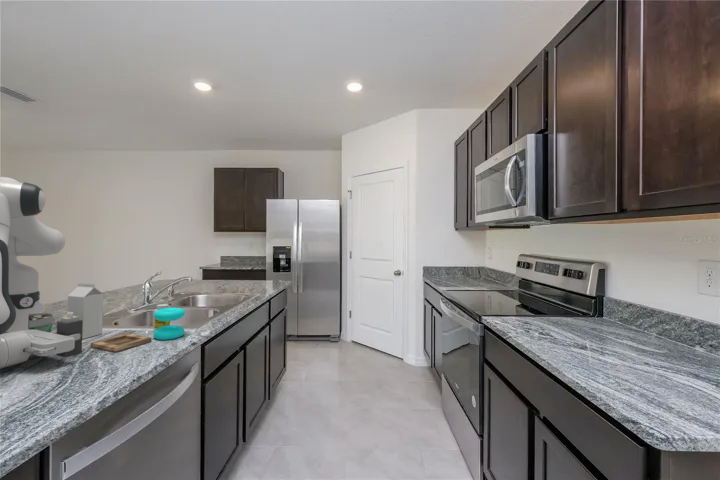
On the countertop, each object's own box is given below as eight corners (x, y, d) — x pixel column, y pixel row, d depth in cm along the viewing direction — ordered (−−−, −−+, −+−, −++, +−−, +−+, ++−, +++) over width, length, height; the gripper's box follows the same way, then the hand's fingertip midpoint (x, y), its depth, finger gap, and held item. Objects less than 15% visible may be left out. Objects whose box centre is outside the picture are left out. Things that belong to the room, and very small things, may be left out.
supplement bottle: (171, 326, 133) (172, 303, 133) (167, 330, 128) (167, 306, 128) (157, 327, 132) (157, 303, 132) (151, 331, 127) (152, 306, 127)
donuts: (174, 313, 115) (147, 312, 116) (174, 341, 116) (146, 340, 116) (190, 307, 125) (165, 306, 126) (189, 333, 125) (164, 332, 126)
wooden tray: (90, 347, 107) (90, 342, 107) (127, 337, 118) (127, 332, 118) (115, 352, 103) (115, 347, 103) (151, 341, 114) (151, 337, 114)
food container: (56, 348, 105) (56, 317, 105) (28, 353, 100) (29, 321, 100) (52, 339, 113) (53, 311, 113) (27, 343, 109) (28, 313, 109)
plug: (56, 354, 100) (57, 312, 100) (72, 350, 104) (73, 310, 104) (65, 356, 98) (66, 314, 98) (81, 352, 103) (82, 311, 102)
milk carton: (82, 339, 114) (84, 285, 114) (66, 337, 116) (68, 284, 116) (102, 333, 121) (103, 283, 121) (86, 332, 123) (88, 282, 123)
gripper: (37, 341, 85) (95, 328, 99) (-7, 332, 92) (53, 320, 105) (36, 365, 86) (94, 349, 99) (-8, 354, 92) (52, 340, 105)
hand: (72, 334), depth 102 cm, fingers closed on plug, 4 cm apart
